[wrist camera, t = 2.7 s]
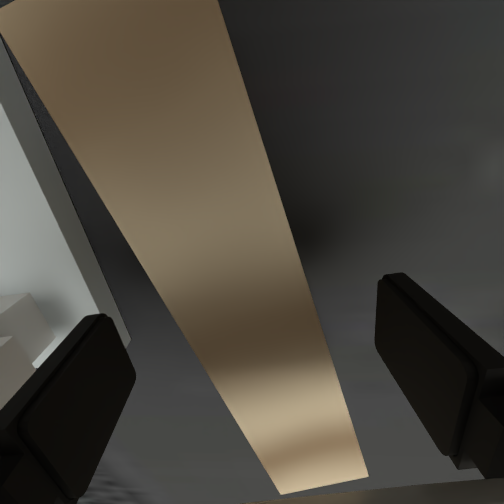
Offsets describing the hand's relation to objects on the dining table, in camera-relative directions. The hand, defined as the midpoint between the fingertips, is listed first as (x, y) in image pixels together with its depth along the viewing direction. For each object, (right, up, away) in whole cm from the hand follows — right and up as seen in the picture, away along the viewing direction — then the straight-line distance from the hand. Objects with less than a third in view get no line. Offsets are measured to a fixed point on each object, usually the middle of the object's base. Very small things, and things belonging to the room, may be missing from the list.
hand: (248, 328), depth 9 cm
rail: (0, +3, +5) cm, 6 cm away
